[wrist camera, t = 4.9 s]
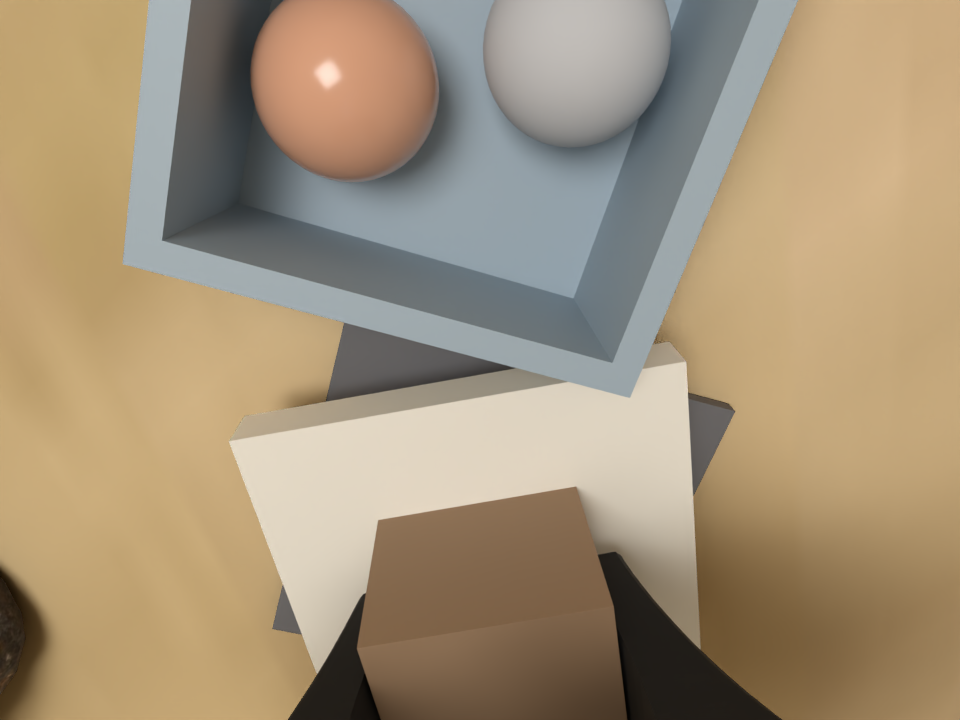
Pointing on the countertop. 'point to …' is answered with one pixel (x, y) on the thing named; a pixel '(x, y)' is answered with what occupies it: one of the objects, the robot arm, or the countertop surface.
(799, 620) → the countertop surface
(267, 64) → the ball terracotta
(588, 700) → the lid
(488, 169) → the box
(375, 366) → the mat
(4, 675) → the stone
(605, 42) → the ball grey
